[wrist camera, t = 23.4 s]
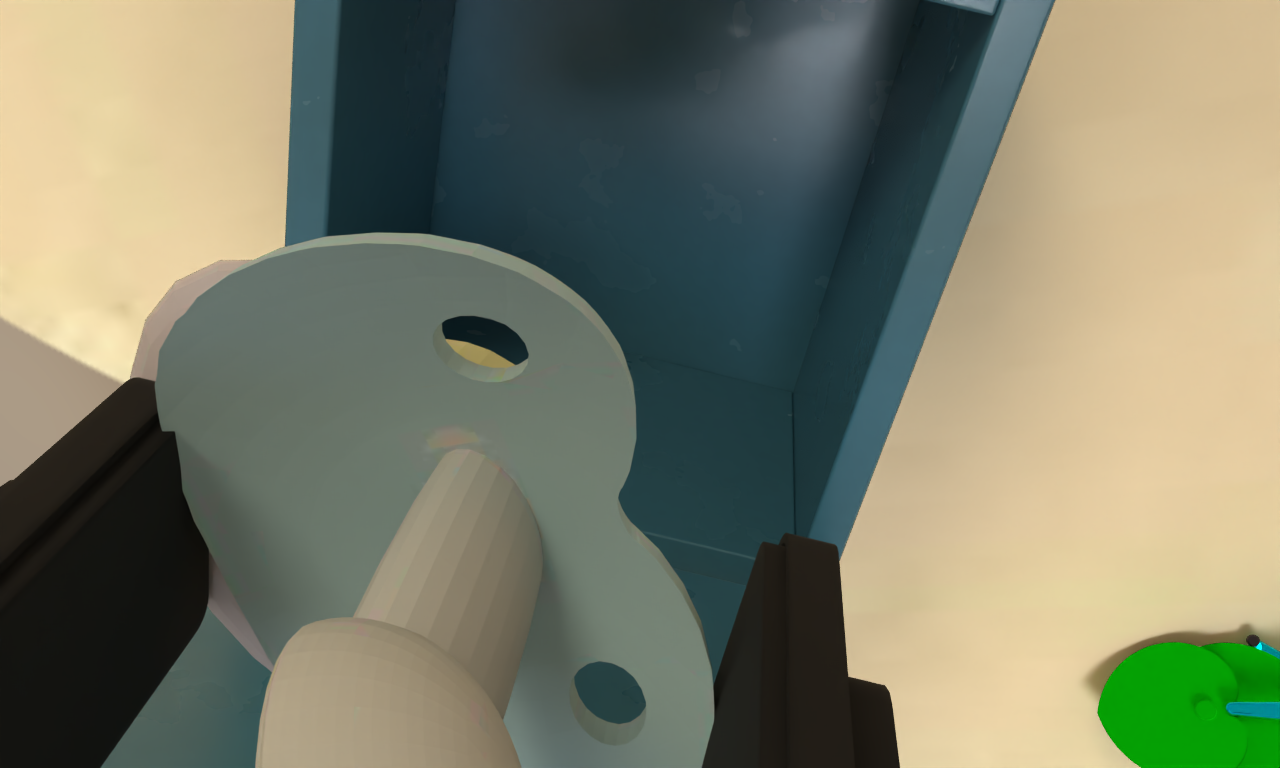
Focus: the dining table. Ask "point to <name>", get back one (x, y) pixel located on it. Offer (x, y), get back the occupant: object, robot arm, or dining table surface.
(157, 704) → the teal box lid
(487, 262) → the pacifier
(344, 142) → the teal open box
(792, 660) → the robot arm
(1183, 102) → the dining table surface
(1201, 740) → the stick construction toy
